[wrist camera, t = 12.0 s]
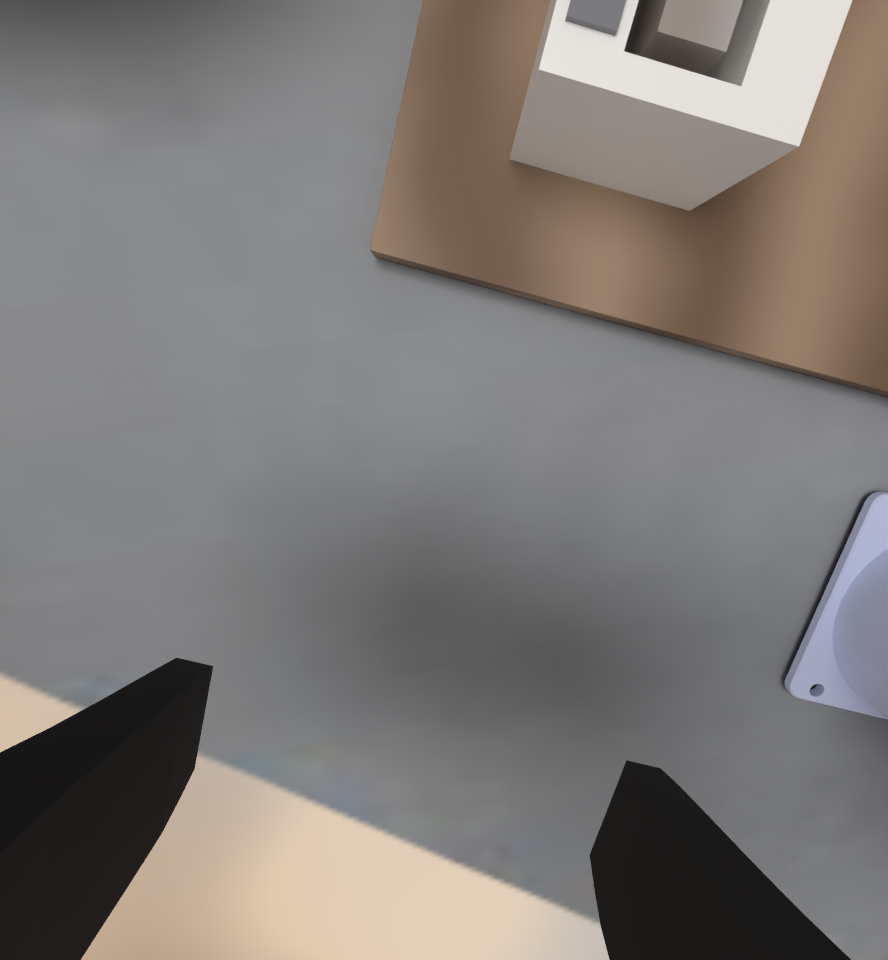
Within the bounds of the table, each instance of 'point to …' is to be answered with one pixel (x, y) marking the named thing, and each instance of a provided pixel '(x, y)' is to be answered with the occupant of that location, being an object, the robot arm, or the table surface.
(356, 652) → the table surface
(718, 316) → the base
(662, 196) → the cube with recessed slot
